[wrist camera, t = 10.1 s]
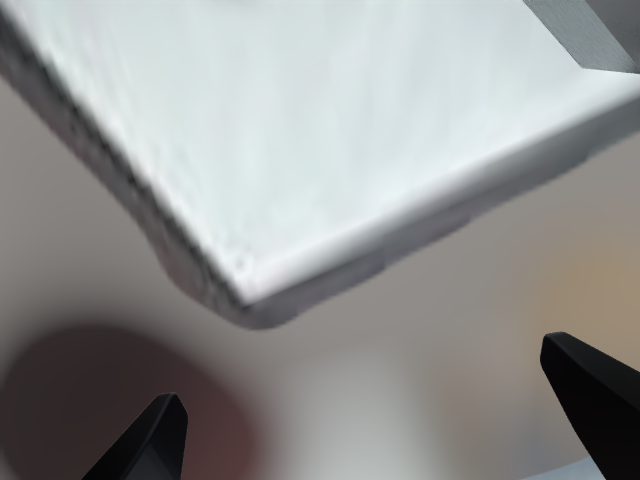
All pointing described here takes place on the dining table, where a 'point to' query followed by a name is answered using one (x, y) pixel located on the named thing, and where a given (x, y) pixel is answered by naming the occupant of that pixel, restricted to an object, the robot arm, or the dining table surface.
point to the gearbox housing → (595, 31)
